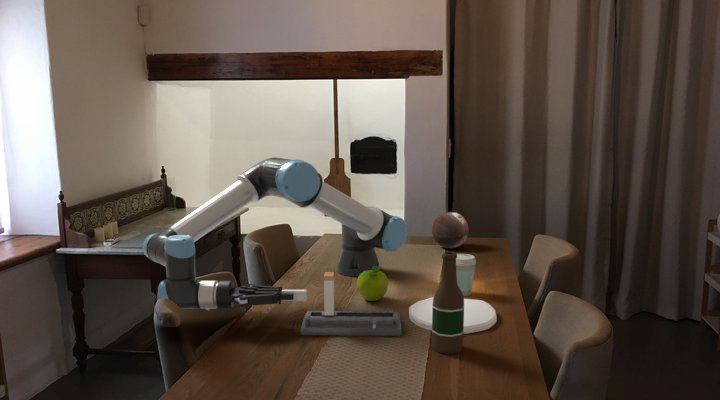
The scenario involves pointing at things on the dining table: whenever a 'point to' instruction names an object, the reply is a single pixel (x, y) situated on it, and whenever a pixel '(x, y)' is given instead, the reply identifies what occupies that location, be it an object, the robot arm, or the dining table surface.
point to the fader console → (352, 323)
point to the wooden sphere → (450, 230)
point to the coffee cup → (465, 272)
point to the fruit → (372, 284)
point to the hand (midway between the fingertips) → (306, 295)
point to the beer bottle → (448, 310)
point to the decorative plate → (475, 315)
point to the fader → (329, 295)
